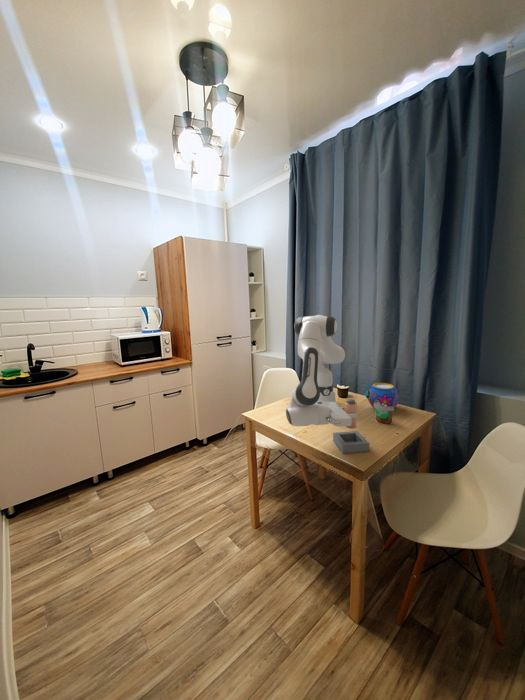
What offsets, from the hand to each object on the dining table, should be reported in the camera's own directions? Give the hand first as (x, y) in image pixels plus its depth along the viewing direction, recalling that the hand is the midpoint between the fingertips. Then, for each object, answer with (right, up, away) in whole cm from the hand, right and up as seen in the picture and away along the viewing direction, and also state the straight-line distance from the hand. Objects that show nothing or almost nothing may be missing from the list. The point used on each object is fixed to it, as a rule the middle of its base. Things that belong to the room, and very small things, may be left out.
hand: (352, 412), depth 123 cm
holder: (0, -16, +3) cm, 16 cm away
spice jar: (-1, -7, +1) cm, 7 cm away
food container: (+24, -11, +27) cm, 38 cm away
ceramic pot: (+33, -8, +44) cm, 55 cm away
